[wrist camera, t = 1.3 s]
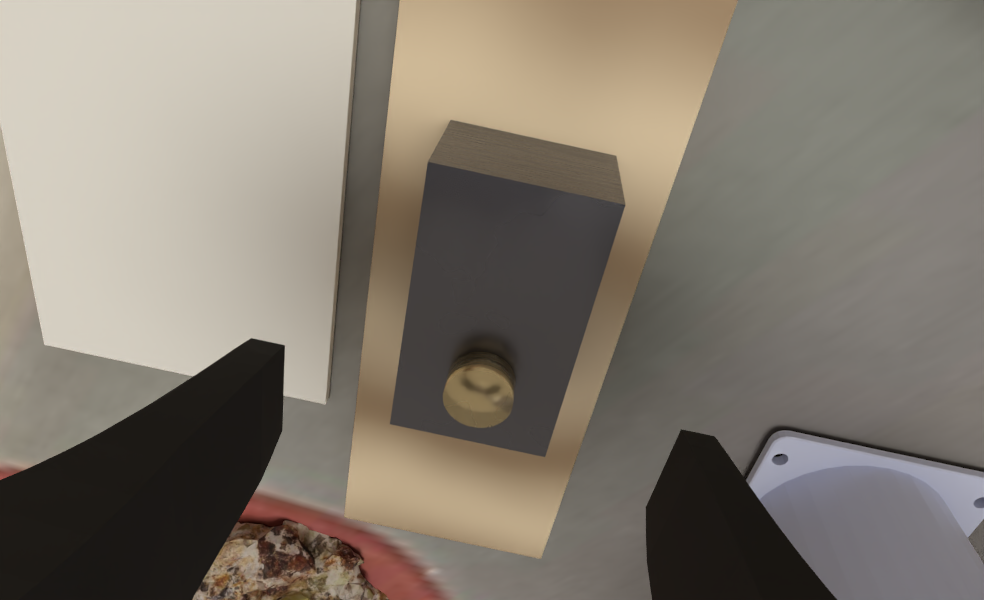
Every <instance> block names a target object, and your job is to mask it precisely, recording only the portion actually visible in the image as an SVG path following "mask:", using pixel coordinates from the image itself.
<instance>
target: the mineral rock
mask: <svg viewBox="0 0 984 600" xmlns="http://www.w3.org/2000/svg"><path fill="white" fill-rule="evenodd" d="M362 563H364V561H363V560H362V559H361V557H360V556H359V555H358V554H356V553H354V552H353V550H352V549H351V548H350V547H348V546H347V545H343V544H342V542H341V541H340V540H339V539H337V538H331V537H330V536H328V535H324V534H321V533H319V532H316V531H312V530H309V529H308V528H307V526H304V525H302V524H300V523H295V522H292V521H288V520H285V521H284V522H283V525H281V526H276V527H271V528H270V527H266V526H265V525H263V524H252V523H243V524H240V523H239V522H237V523H236V525H235V526H234V528H233V530H232V532H231V533H230V535H229V537H228V538H227V540H226V542H225V544H224V545H223V547H222V549H221V550H220V552H219V554H218V555H217V557H216V559H215V561H214V562H213V564H212V566H211V567H210V569H209V571H208V573H207V574H206V576H205V578H204V579H203V581H202V583H201V585H200V586H199V588H198V590H197V592H196V593H195V595H194V597H193V599H192V600H389V599H388V598H387V596H386V595H385V594H384V593H382V592H381V591H379V590H377V589H375V588H374V587H373V586H372V585H371V584H370V583H369V582H368V581H367V580H366V579H365V578H364V577H363V576H362V574H361V572H360V569H359V565H360V564H362Z"/></svg>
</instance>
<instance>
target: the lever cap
mask: <svg viewBox="0 0 984 600" xmlns="http://www.w3.org/2000/svg"><path fill="white" fill-rule="evenodd" d="M624 208H625V199H624V194H623V188H622V183H621V178H620V172H619V167H618V162H617V156H615V155H610V154H606V153H601V152H597V151H592V150H588V149H583V148H578V147H574V146H569V145H565V144H560V143H555V142H551V141H546V140H542V139H537V138H533V137H528V136H523V135H519V134H514V133H510V132H505V131H501V130H496V129H491V128H487V127H482V126H478V125H473V124H469V123H464V122H459V121H455V120H450V122H449V124H448V126H447V128H446V129H445V131H444V133H443V135H442V137H441V139H440V140H439V142H438V144H437V146H436V148H435V150H434V151H433V153H432V155H431V157H430V159H429V161H428V164H427V171H426V178H425V185H424V191H423V198H422V205H421V212H420V219H419V226H418V233H417V240H416V247H415V253H414V260H413V267H412V274H411V281H410V288H409V295H408V302H407V309H406V315H405V322H404V329H403V336H402V343H401V350H400V357H399V364H398V371H397V377H396V384H395V391H394V398H393V405H392V412H391V419H390V424H391V425H396V426H400V427H405V428H410V429H415V430H419V431H424V432H429V433H433V434H438V435H443V436H447V437H452V438H457V439H462V440H466V441H471V442H476V443H480V444H485V445H490V446H495V447H499V448H504V449H509V450H513V451H518V452H523V453H527V454H532V455H537V456H542V457H545V456H546V453H547V450H548V447H549V444H550V440H551V437H552V434H553V431H554V428H555V425H556V422H557V419H558V415H559V412H560V409H561V406H562V403H563V400H564V397H565V393H566V390H567V387H568V384H569V381H570V378H571V375H572V371H573V368H574V365H575V362H576V359H577V356H578V353H579V349H580V346H581V343H582V340H583V337H584V334H585V331H586V327H587V324H588V321H589V318H590V315H591V312H592V309H593V305H594V302H595V299H596V296H597V293H598V290H599V287H600V283H601V280H602V277H603V274H604V271H605V268H606V265H607V262H608V258H609V255H610V252H611V249H612V246H613V243H614V240H615V236H616V233H617V230H618V227H619V224H620V221H621V218H622V214H623V211H624Z"/></svg>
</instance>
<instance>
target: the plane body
mask: <svg viewBox="0 0 984 600" xmlns="http://www.w3.org/2000/svg"><path fill="white" fill-rule="evenodd" d="M737 1H738V0H400V4H399V13H398V22H397V32H396V41H395V50H394V59H393V69H392V78H391V87H390V96H389V106H388V115H387V124H386V133H385V143H384V152H383V161H382V170H381V180H380V189H379V198H378V207H377V217H376V226H375V235H374V245H373V254H372V263H371V272H370V282H369V291H368V300H367V309H366V319H365V328H364V337H363V346H362V356H361V365H360V374H359V383H358V393H357V402H356V411H355V420H354V430H353V439H352V448H351V457H350V467H349V476H348V485H347V495H346V504H345V513H344V517H345V518H349V519H354V520H359V521H364V522H368V523H373V524H378V525H383V526H387V527H392V528H397V529H402V530H406V531H411V532H416V533H421V534H425V535H430V536H435V537H440V538H444V539H449V540H454V541H459V542H463V543H468V544H473V545H478V546H482V547H487V548H492V549H497V550H501V551H506V552H511V553H516V554H520V555H525V556H530V557H534V558H539V559H541V557H542V554H543V551H544V549H545V546H546V543H547V540H548V537H549V534H550V532H551V529H552V526H553V523H554V520H555V517H556V515H557V512H558V509H559V506H560V503H561V500H562V498H563V495H564V492H565V489H566V486H567V483H568V481H569V478H570V475H571V472H572V469H573V466H574V464H575V461H576V458H577V455H578V452H579V449H580V447H581V444H582V441H583V438H584V435H585V432H586V430H587V427H588V424H589V421H590V418H591V415H592V412H593V410H594V407H595V404H596V401H597V398H598V395H599V393H600V390H601V387H602V384H603V381H604V378H605V376H606V373H607V370H608V367H609V364H610V361H611V359H612V356H613V353H614V350H615V347H616V344H617V342H618V339H619V336H620V333H621V330H622V327H623V325H624V322H625V319H626V316H627V313H628V310H629V308H630V305H631V302H632V299H633V296H634V293H635V291H636V288H637V285H638V282H639V279H640V276H641V274H642V271H643V268H644V265H645V262H646V259H647V257H648V254H649V251H650V248H651V245H652V242H653V239H654V237H655V234H656V231H657V228H658V225H659V222H660V220H661V217H662V214H663V211H664V208H665V205H666V203H667V200H668V197H669V194H670V191H671V188H672V186H673V183H674V180H675V177H676V174H677V171H678V169H679V166H680V163H681V160H682V157H683V154H684V152H685V149H686V146H687V143H688V140H689V137H690V135H691V132H692V129H693V126H694V123H695V120H696V118H697V115H698V112H699V109H700V106H701V103H702V101H703V98H704V95H705V92H706V89H707V86H708V84H709V81H710V78H711V75H712V72H713V69H714V66H715V64H716V61H717V58H718V55H719V52H720V49H721V47H722V44H723V41H724V38H725V35H726V32H727V30H728V27H729V24H730V21H731V18H732V15H733V13H734V10H735V7H736V4H737ZM450 120H455V121H459V122H464V123H469V124H473V125H478V126H482V127H487V128H491V129H496V130H501V131H505V132H510V133H514V134H519V135H523V136H528V137H533V138H537V139H542V140H546V141H551V142H555V143H560V144H565V145H569V146H574V147H578V148H583V149H588V150H592V151H597V152H601V153H606V154H610V155H615V156H617V162H618V167H619V172H620V178H621V183H622V188H623V194H624V199H625V208H624V211H623V214H622V218H621V221H620V224H619V227H618V230H617V233H616V236H615V240H614V243H613V246H612V249H611V252H610V255H609V258H608V262H607V265H606V268H605V271H604V274H603V277H602V280H601V283H600V287H599V290H598V293H597V296H596V299H595V302H594V305H593V309H592V312H591V315H590V318H589V321H588V324H587V327H586V331H585V334H584V337H583V340H582V343H581V346H580V349H579V353H578V356H577V359H576V362H575V365H574V368H573V371H572V375H571V378H570V381H569V384H568V387H567V390H566V393H565V397H564V400H563V403H562V406H561V409H560V412H559V415H558V419H557V422H556V425H555V428H554V431H553V434H552V437H551V440H550V444H549V447H548V450H547V453H546V456H545V457H542V456H537V455H532V454H527V453H523V452H518V451H513V450H509V449H504V448H499V447H495V446H490V445H485V444H480V443H476V442H471V441H466V440H462V439H457V438H452V437H447V436H443V435H438V434H433V433H429V432H424V431H419V430H415V429H410V428H405V427H400V426H396V425H391V424H390V419H391V412H392V405H393V398H394V391H395V384H396V377H397V371H398V364H399V357H400V350H401V343H402V336H403V329H404V322H405V315H406V309H407V302H408V295H409V288H410V281H411V274H412V267H413V260H414V253H415V247H416V240H417V233H418V226H419V219H420V212H421V205H422V198H423V191H424V185H425V178H426V171H427V164H428V161H429V159H430V157H431V155H432V153H433V151H434V150H435V148H436V146H437V144H438V142H439V140H440V139H441V137H442V135H443V133H444V131H445V129H446V128H447V126H448V124H449V122H450Z"/></svg>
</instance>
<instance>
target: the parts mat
mask: <svg viewBox="0 0 984 600" xmlns="http://www.w3.org/2000/svg"><path fill="white" fill-rule="evenodd" d="M360 1H361V0H0V124H1V129H2V134H3V139H4V144H5V149H6V154H7V159H8V164H9V169H10V174H11V179H12V184H13V189H14V194H15V199H16V204H17V209H18V214H19V219H20V224H21V229H22V234H23V239H24V244H25V249H26V254H27V259H28V264H29V270H30V275H31V280H32V285H33V290H34V295H35V300H36V305H37V310H38V315H39V320H40V325H41V330H42V335H43V340H44V345H49V346H53V347H58V348H63V349H68V350H72V351H77V352H82V353H86V354H91V355H96V356H100V357H105V358H110V359H115V360H119V361H124V362H129V363H133V364H138V365H143V366H147V367H152V368H157V369H162V370H166V371H171V372H176V373H180V374H185V375H190V376H195V375H196V374H198V373H199V372H201V371H202V370H204V369H205V368H207V367H208V366H210V365H211V364H213V363H214V362H216V361H217V360H219V359H220V358H222V357H223V356H225V355H226V354H228V353H229V352H230V351H232V350H233V349H235V348H236V347H238V346H240V345H241V344H243V343H244V342H246V341H247V340H249V339H251V338H253V339H258V340H263V341H267V342H272V343H277V344H282V345H285V360H284V390H283V395H284V396H288V397H293V398H298V399H303V400H307V401H312V402H317V403H321V404H326V402H327V400H328V398H329V391H330V378H331V366H332V353H333V341H334V328H335V316H336V303H337V290H338V278H339V265H340V253H341V240H342V228H343V215H344V202H345V190H346V177H347V165H348V152H349V140H350V127H351V114H352V102H353V89H354V77H355V64H356V52H357V39H358V26H359V14H360Z"/></svg>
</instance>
